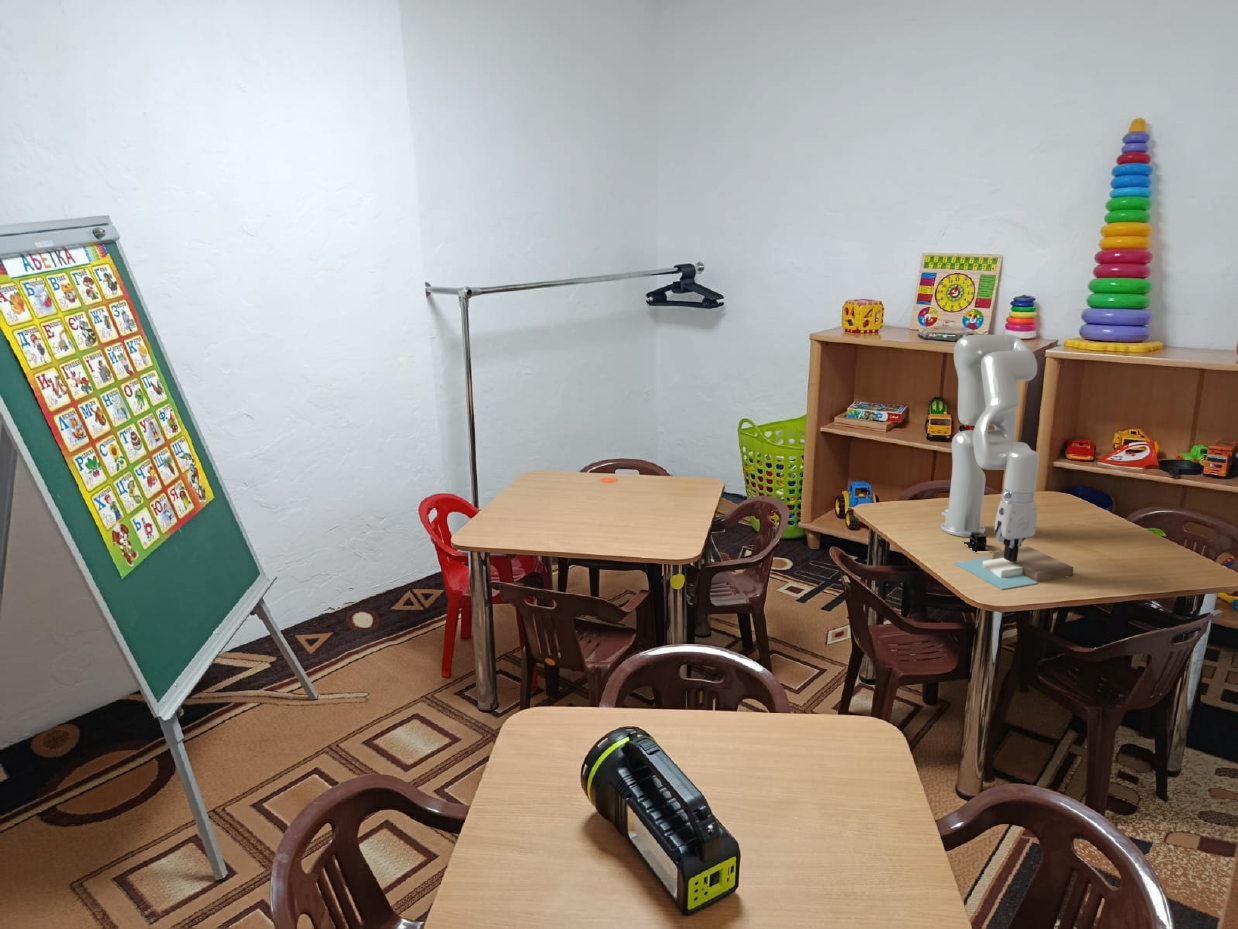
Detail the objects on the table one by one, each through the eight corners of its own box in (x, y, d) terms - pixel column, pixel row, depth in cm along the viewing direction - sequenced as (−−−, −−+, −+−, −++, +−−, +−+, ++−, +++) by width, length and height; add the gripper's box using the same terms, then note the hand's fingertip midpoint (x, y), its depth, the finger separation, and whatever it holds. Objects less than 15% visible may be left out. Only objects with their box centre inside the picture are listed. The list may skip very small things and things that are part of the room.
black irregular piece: (955, 541, 248) (957, 527, 247) (979, 540, 249) (981, 526, 247) (975, 557, 236) (977, 542, 235) (1000, 556, 237) (1002, 541, 236)
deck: (992, 559, 233) (993, 551, 232) (1027, 554, 237) (1028, 546, 236) (1036, 582, 218) (1037, 573, 218) (1072, 575, 222) (1073, 567, 221)
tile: (982, 567, 227) (983, 560, 227) (1003, 564, 229) (1004, 557, 229) (1000, 577, 221) (1001, 570, 220) (1022, 574, 223) (1023, 567, 222)
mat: (954, 564, 231) (955, 563, 230) (989, 558, 234) (989, 557, 234) (1001, 589, 214) (1002, 588, 214) (1038, 583, 217) (1038, 582, 217)
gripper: (1005, 502, 214) (997, 568, 219) (1051, 496, 218) (1042, 561, 223) (985, 494, 220) (977, 558, 225) (1030, 488, 225) (1021, 551, 230)
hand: (1010, 559), depth 224 cm, fingers closed
